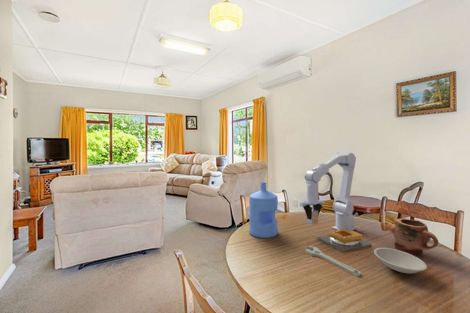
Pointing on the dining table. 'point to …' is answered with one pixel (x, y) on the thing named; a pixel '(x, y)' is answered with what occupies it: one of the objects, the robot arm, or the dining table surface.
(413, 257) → the dish
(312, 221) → the rectangular block
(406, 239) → the brown ceramic rounded pot
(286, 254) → the dining table surface
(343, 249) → the bracket rosette
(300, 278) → the dining table surface
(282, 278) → the dining table surface
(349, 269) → the adjustable wrench
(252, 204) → the water jug
